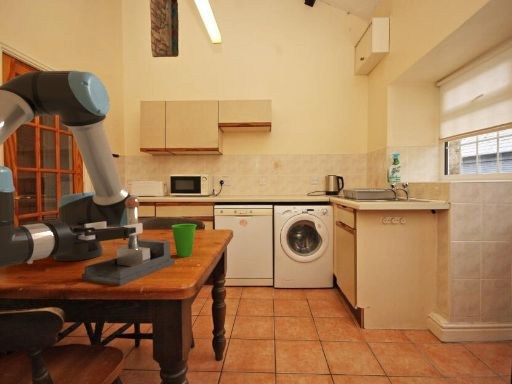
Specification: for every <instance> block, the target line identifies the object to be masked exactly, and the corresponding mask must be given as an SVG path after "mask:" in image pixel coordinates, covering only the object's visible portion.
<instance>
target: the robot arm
mask: <svg viewBox="0 0 512 384" xmlns="http://www.w3.org/2000/svg"><path fill="white" fill-rule="evenodd" d="M109 102H110V97H109V94H108V91H107V89H106V86H105V84H104V83H103V82H102V80H101V78H99V77H98V76H97V75H96V74H94V73H92V72H89V71H80V70H45V71H44V70H35V71H33V70H31V71H29V72H28V71H27V72H26V73H21V74H19V75H17V76H15V77H13V78H11V79H9V80H8V81H6V82H4V83H3V84H1V85H0V147H1V146H2V145H3V144H4V143H5V142H6V141H7V140H8V138H10V136H11V135H13V134H14V132H15V131H16V130H18V128H19V127H20V126H21V125H27V124H29V123H31V121H33V120H34V119H35V118H37V117H41V116H59V120H60V122H61V124H62V125H63V126H64V127H66V128H68V129H70V130H71V133H72V136H73V138H74V141H75V144H76V146H77V149H78V152H79V154H80V157H81V158H82V161H83V164H84V167H85V169H86V171H87V174H88V177H89V179H90V182H91V184H92V187H93V191H88V192H80V193H79V192H78V193H71V194H65V195H62V196H61V197H59V199H58V208H57V209H58V221H52V222H50V221H49V222H44V223H32V224H23V225H19V226H15V190H16V189H15V187H14V179H13V171H12V170H11V169H10V168H9V167H7V166H4V165H0V269H2V268H6V267H11V266H15V265H19V264H25V263H27V264H28V265H31V264H33V263H34V260H35V261H36V260H40V259H41V260H42V259H45V258H51V257H52V258H53V260H54V261H56V262H75V261H76V262H77V261H83V260H84V261H85V260H90V259H94V258H98V257H100V256H102V255H103V254H104V253H103V251H104V249H103V245H102V243H101V242H105V241H106V242H107V241H114V240H120V239H121V240H122V239H123V241H126V240H127V239H128V238H129V236H130V235H135V234H138V235H139V234H142V233H143V231H144V230H143V222H138V224H132V225H127V208H126V206H125V201H126V199H128V198H129V197H135V198H137V199H138V200H139V198H138V196H136V195H135V194H130V191H129V189H128V188H127V187H126V186H125V185H123V184H122V180H121V178H120V175H119V171H118V168H117V166H116V163H115V159H114V156H113V153H112V150H111V147H110V143H109V140H108V137H107V133H106V130H105V128H104V124H103V123H105V121H106V119H107V116H106V115H107V114H108V113H109V111H110V108H111V107H110V103H109ZM138 209H139V207H138Z"/></svg>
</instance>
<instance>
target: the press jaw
mask: <svg viewBox="0 0 512 384" xmlns="http://www.w3.org/2000/svg"><path fill="white" fill-rule="evenodd" d="M137 198H138V197H137ZM137 198H135V197H129V198H128V199H126V201H125V206H126V208H127V225H132V224H138V223H139V208H138V207H139V206H140V201H139V198H138V199H137ZM138 240H139V234H135V235H130V236H129V238H127V245H121V246H120V247H116V257H117V264H119V265H127V266H133V265H136V264H139V263H142V262H145V261H148V260H150V248H142V247H139V244H138Z"/></svg>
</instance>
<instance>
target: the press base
mask: <svg viewBox="0 0 512 384" xmlns="http://www.w3.org/2000/svg"><path fill="white" fill-rule="evenodd" d="M138 244H139V247H142V248H150V260H148V261H145V262H142V263H139V264H136V265H133V266H127V265H119V264H117V256H116V257H113V258H110V259H105V260H103V261H99V262H96V263H92V264H89V265H85V266H84V273H82V274H81V280H82V281H87V282H93V283H101V284H107V285H112V286H117V287H118V286H119V287H121V286H124V285H126V284H128V283H131V282H133V281H135V280H139V279H140V278H143V277H145V276H148V275H150V274H153V273H155V272H157V271H160V270H162V269H165V268H168V267H170V266H172V265H174V264H176V259H175V258H171V241H170V240H161V239H147V238H140V239H139V238H138Z"/></svg>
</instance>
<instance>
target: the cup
mask: <svg viewBox="0 0 512 384" xmlns="http://www.w3.org/2000/svg"><path fill="white" fill-rule="evenodd" d="M196 227H197V224H194V223H181V224H173V225H171V227H170V228H171V230H172V234H173V235H172V236H173V240H174V246H175V251H176V252H175V253H176V255H177V257H178V258H189V257H191V256H192V254H193V248H194V242H195V241H194V240H195V234H196V229H197V228H196Z"/></svg>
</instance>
